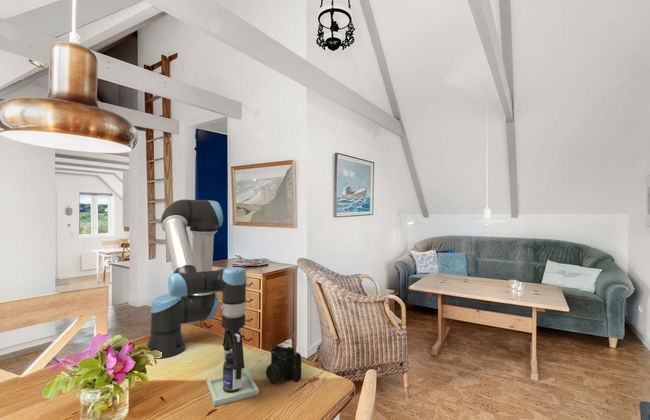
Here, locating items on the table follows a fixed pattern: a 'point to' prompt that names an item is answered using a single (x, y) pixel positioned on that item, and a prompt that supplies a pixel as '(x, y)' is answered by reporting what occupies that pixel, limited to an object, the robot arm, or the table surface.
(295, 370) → the camera
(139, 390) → the table surface
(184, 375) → the table surface
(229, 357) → the pill bottle
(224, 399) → the tray
